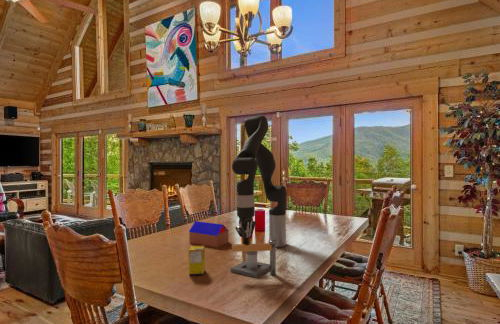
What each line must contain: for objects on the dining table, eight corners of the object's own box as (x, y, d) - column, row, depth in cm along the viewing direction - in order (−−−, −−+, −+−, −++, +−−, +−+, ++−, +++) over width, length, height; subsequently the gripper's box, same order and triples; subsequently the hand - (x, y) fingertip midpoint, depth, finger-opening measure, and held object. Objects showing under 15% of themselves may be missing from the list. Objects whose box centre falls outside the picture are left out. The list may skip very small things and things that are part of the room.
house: (217, 248, 170) (216, 226, 169) (188, 243, 180) (188, 223, 179) (229, 242, 180) (229, 222, 180) (201, 238, 190) (201, 219, 190)
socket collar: (247, 262, 145) (247, 259, 145) (271, 268, 138) (271, 264, 138) (230, 271, 134) (230, 268, 134) (256, 277, 127) (256, 274, 127)
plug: (249, 267, 140) (249, 247, 139) (259, 269, 137) (259, 248, 137) (243, 270, 135) (243, 250, 135) (253, 273, 133) (253, 251, 132)
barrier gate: (232, 273, 131) (231, 240, 131) (276, 272, 132) (276, 239, 132) (232, 277, 127) (232, 243, 127) (277, 275, 129) (277, 241, 129)
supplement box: (205, 270, 136) (204, 245, 136) (203, 275, 130) (203, 249, 130) (191, 270, 136) (191, 245, 136) (189, 275, 130) (188, 249, 130)
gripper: (246, 202, 139) (247, 240, 139) (229, 207, 128) (230, 248, 128) (261, 203, 135) (262, 243, 135) (244, 208, 124) (245, 251, 124)
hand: (246, 245), depth 132 cm, fingers closed
